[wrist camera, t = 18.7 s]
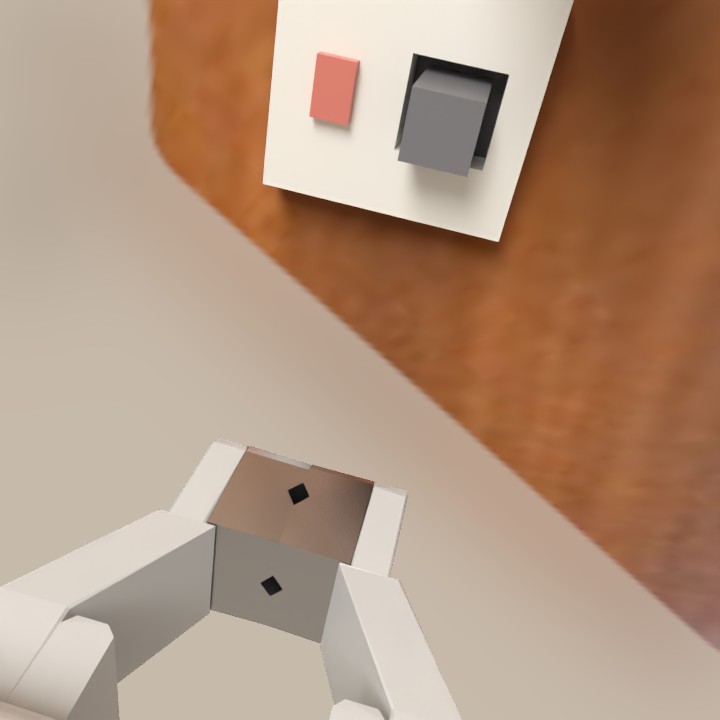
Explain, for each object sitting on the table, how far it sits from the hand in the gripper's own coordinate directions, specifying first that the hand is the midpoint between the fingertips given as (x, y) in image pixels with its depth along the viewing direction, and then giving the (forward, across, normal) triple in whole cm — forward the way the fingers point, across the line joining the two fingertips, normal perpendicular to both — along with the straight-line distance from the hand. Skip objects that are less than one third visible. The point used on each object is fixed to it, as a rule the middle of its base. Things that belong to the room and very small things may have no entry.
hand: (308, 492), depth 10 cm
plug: (+37, +1, +2) cm, 37 cm away
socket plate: (+37, +4, +2) cm, 37 cm away
